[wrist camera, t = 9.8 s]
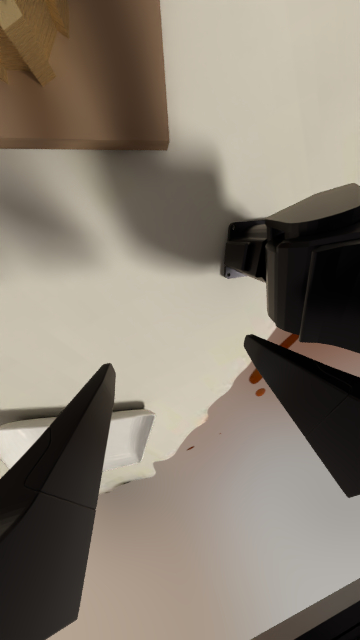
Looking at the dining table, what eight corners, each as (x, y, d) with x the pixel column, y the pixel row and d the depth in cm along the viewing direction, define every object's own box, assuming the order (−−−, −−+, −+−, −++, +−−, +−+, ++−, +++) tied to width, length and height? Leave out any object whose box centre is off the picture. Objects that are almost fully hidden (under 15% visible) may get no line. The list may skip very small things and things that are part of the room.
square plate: (34, 467, 37) (23, 490, 33) (-2, 408, 24) (-25, 435, 21) (141, 449, 45) (141, 466, 42) (156, 398, 32) (157, 416, 29)
